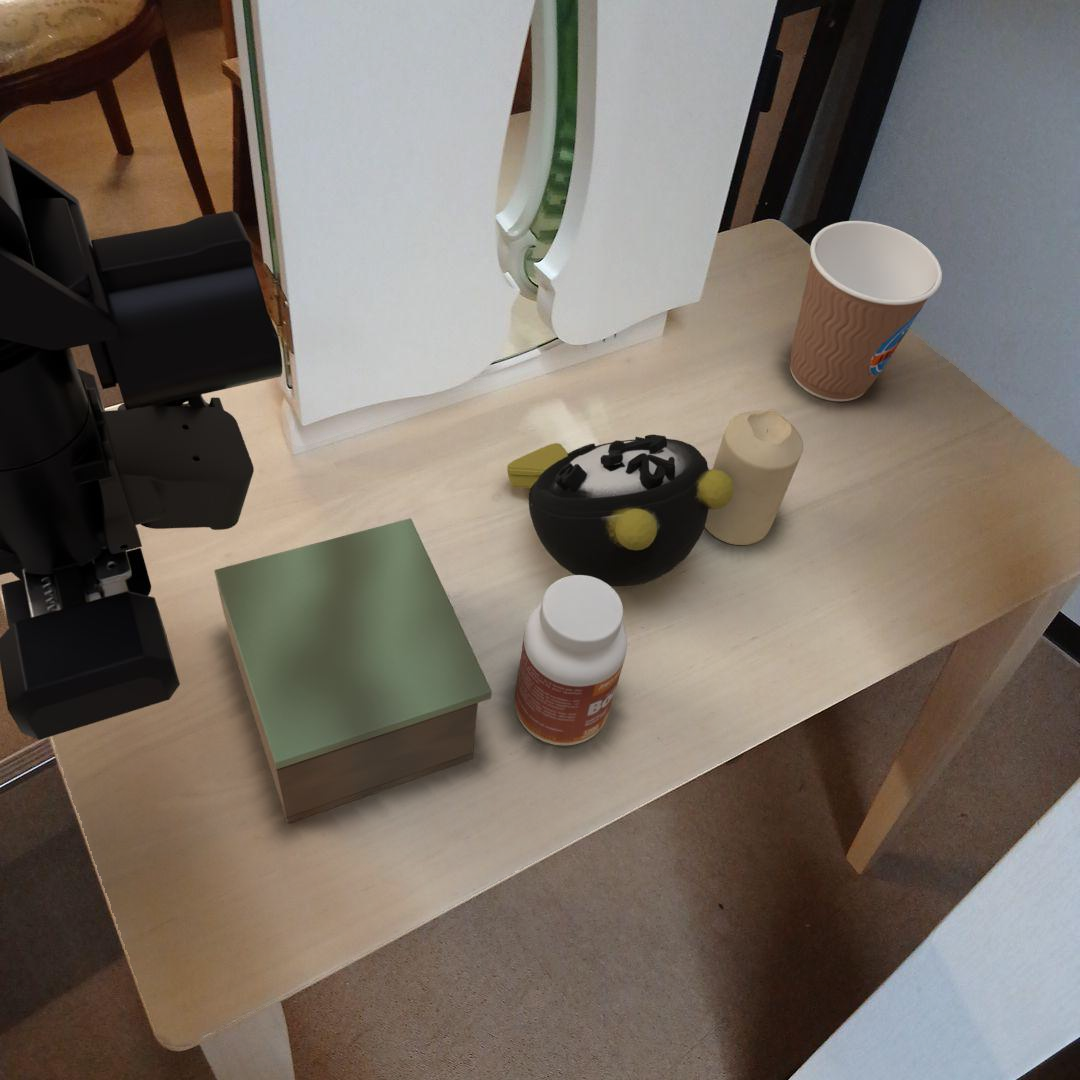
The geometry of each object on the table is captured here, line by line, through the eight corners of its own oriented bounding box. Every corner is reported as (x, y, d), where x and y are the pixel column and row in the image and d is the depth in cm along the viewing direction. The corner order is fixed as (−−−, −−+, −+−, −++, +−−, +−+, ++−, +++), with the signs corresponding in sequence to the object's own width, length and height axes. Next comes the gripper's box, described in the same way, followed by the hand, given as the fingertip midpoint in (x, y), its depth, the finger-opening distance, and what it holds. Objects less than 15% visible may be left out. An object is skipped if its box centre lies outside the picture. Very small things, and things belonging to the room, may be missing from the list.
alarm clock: (634, 506, 85) (757, 401, 74) (614, 661, 76) (750, 567, 66) (508, 440, 82) (618, 319, 71) (471, 595, 73) (591, 484, 62)
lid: (411, 525, 68) (411, 517, 68) (491, 698, 61) (492, 691, 60) (215, 577, 64) (213, 569, 64) (276, 770, 57) (275, 763, 56)
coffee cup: (874, 432, 88) (930, 318, 79) (756, 390, 90) (796, 273, 81) (898, 359, 94) (952, 245, 85) (787, 321, 96) (828, 205, 87)
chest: (399, 591, 73) (399, 528, 68) (472, 759, 66) (478, 703, 61) (230, 640, 70) (215, 577, 64) (287, 823, 62) (276, 770, 57)
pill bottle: (593, 762, 67) (621, 667, 58) (500, 731, 67) (514, 633, 59) (619, 682, 70) (648, 582, 62) (530, 653, 71) (547, 551, 63)
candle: (689, 530, 79) (720, 436, 72) (710, 481, 83) (741, 386, 75) (760, 556, 78) (799, 463, 71) (778, 505, 82) (817, 412, 74)
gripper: (281, 537, 39) (315, 740, 51) (170, 239, 49) (221, 468, 61) (-49, 628, 36) (72, 822, 48) (-95, 287, 46) (14, 519, 58)
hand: (105, 637), depth 54 cm, fingers closed
